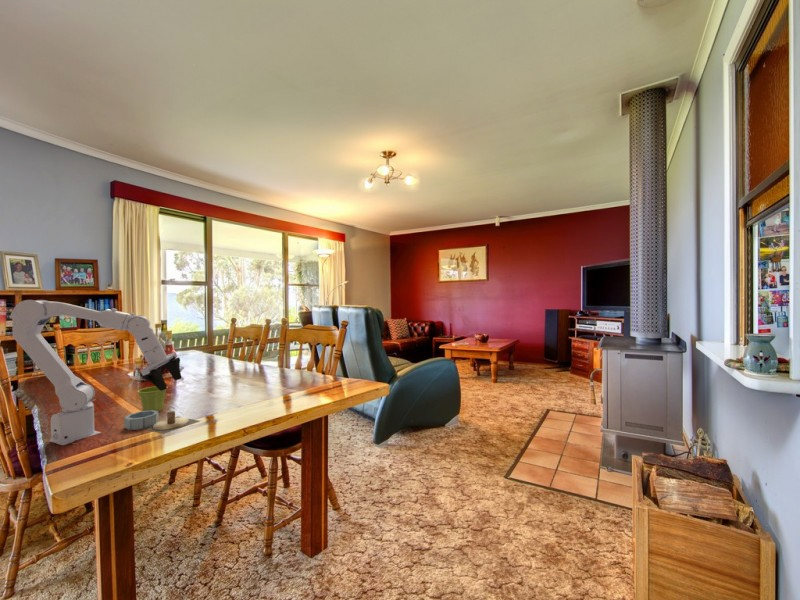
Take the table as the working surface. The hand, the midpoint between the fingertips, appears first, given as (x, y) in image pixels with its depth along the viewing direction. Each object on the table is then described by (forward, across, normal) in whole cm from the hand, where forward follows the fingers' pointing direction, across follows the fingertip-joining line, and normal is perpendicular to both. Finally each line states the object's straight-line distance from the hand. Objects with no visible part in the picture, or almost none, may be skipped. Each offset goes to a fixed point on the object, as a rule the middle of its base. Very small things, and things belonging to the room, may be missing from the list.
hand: (171, 384), depth 120 cm
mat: (+12, -7, +2) cm, 14 cm away
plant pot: (+10, +8, +19) cm, 23 cm away
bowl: (+9, -7, +11) cm, 16 cm away
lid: (+12, -7, +1) cm, 13 cm away
